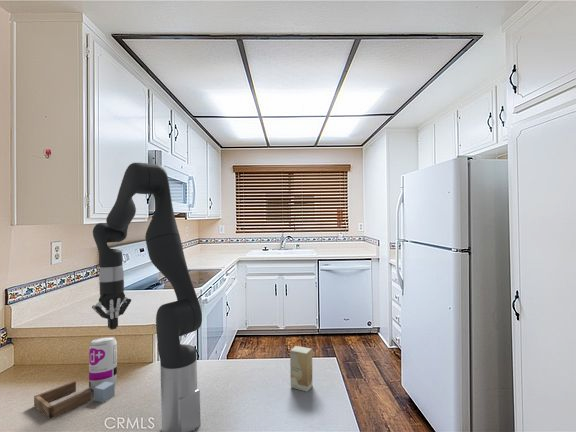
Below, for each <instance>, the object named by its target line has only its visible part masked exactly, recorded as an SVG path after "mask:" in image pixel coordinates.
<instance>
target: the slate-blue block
mask: <svg viewBox="0 0 576 432" xmlns="http://www.w3.org/2000/svg"><path fill="white" fill-rule="evenodd" d="M115 387H116V386H115V384H114V383H111V382H103V383H101V384H100V385H98V386H96V387H94V390H93V400H94V401H97V402H101V403H105V402H107V401H108V400H110V399H112V398H113V397H114V396H116V395H115V389H116V388H115Z"/></svg>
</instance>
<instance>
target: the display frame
mask: <svg viewBox="0 0 576 432" xmlns="http://www.w3.org/2000/svg"><path fill="white" fill-rule="evenodd" d="M76 391H77V382H76V381H75V380H73V381H71V382H70V381H69V382H67V383H65V384H63V385H60V386H57V387H55V388H51V389H49V390H46V391H45V392H42V393H39V394H36V395H34V396H33V406H34V407H35V406H36V407H37V408H38V409H39V410H40V411H39V410H38V409H37V408H36V407H35V408H36V409H37V410H38V411H39V412H41V414H43V413H44V414H45V415H46V416H45V415H44V414H43V415H44V416H45V417H46V418H48V419H49V420H50V418H51V419H53V418H56V417H58V416H60V415H62V414H64V413H66V412H68V411H72V410H73V409H75V408H77V407H80V406H82V405H84V404H87V403H89V402H91V401H92V389H88V390H86V391H84V392H81V393H78V394H77V395H74V396H72V397H71V396H70V398H67V399H64V400H62V401H60V402H56V403H55V404H51V403H49V402H51V400H52V401H54V400H57V399H59V398H62V397H64V396H66V395H69V394H72V393H73V392H76ZM71 392H72V393H71ZM59 414H60V415H59ZM52 417H53V418H52Z"/></svg>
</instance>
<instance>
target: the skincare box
mask: <svg viewBox="0 0 576 432" xmlns="http://www.w3.org/2000/svg"><path fill="white" fill-rule="evenodd" d="M289 351H290V355H289V356H290V358H289V359H290V360H289V361H290V363H289V366H290V369H289V371H290V388H292V389H296V390H299V391H303V392H307V393H308V391H310V390H311V388H312V387H313V348H310V347H305V346H299V345H295V346H294V347H292V348H291V349H290V350H289Z"/></svg>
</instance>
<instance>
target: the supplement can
mask: <svg viewBox="0 0 576 432" xmlns="http://www.w3.org/2000/svg"><path fill="white" fill-rule="evenodd" d="M88 349H89V350H88V351H89V353H88V387H89V388H90V390H92V391H94V387H96V386H98V385H100V384H101V383H103V382H111V383H114V385H115V384H116V382H117V380H118V364H117V363H118V342H117V340H116V337H115V336H105V337H99V338H96V339H93V340H92V341H91V343H90V344H89V348H88Z"/></svg>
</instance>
